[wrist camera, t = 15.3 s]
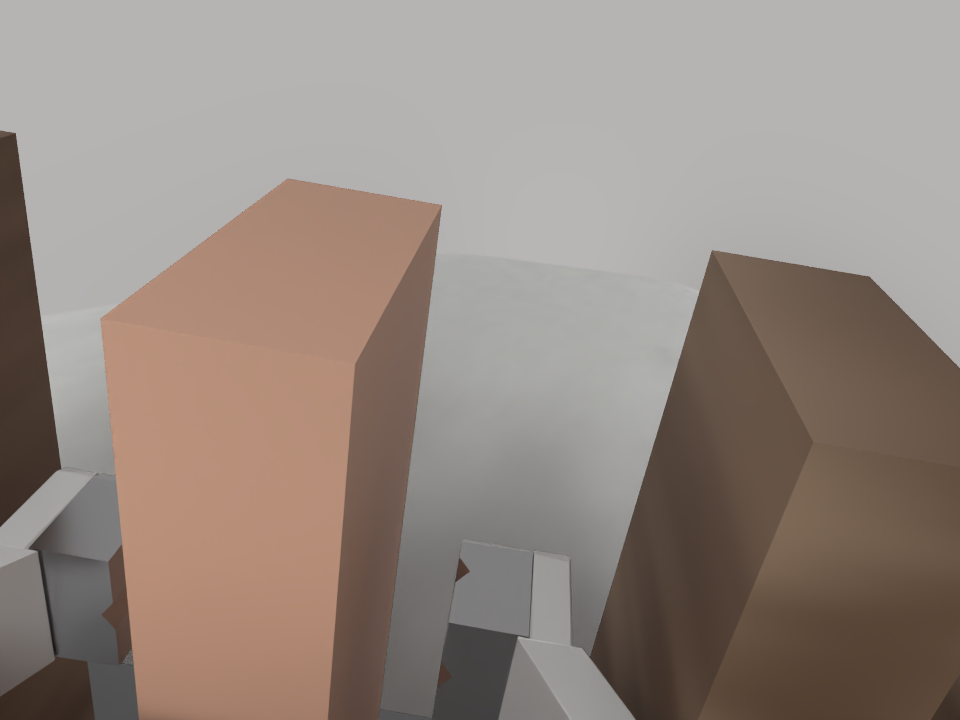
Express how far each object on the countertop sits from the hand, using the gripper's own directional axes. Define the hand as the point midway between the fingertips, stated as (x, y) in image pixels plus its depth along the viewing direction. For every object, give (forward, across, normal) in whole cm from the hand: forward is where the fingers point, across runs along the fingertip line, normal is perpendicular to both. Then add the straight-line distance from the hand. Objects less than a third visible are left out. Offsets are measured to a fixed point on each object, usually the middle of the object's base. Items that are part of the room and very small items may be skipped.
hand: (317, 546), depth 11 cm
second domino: (-1, -6, +7) cm, 9 cm away
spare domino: (-1, 0, +7) cm, 7 cm away
